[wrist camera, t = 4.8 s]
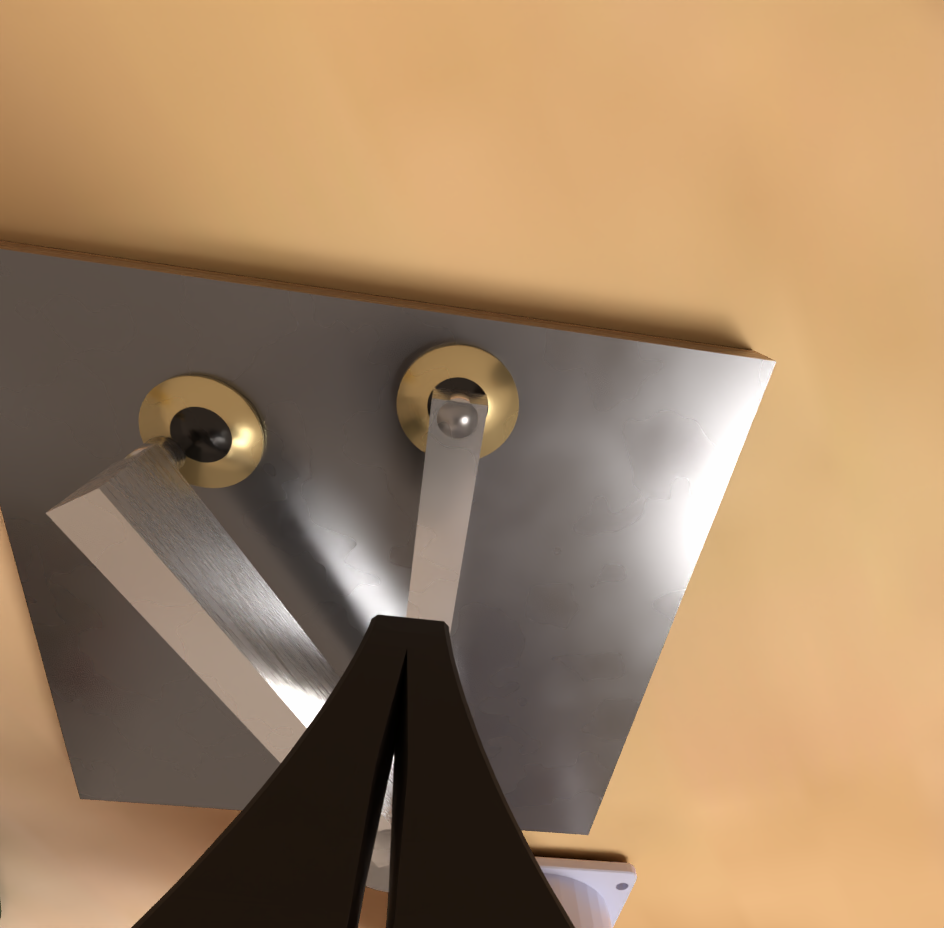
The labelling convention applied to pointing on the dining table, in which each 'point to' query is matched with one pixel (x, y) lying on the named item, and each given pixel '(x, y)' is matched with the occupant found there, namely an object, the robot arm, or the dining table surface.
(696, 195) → the dining table surface
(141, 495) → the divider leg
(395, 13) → the dining table surface
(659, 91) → the dining table surface
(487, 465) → the plate
